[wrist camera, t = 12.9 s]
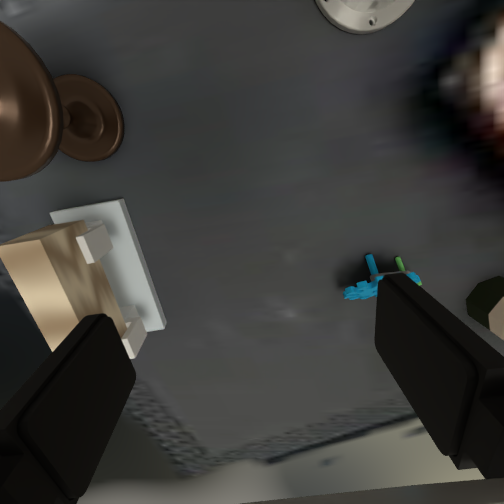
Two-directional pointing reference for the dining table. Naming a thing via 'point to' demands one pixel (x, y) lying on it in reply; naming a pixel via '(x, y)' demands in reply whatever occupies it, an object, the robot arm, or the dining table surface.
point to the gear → (375, 280)
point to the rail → (59, 280)
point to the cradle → (119, 266)
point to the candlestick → (50, 113)
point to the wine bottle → (488, 305)
